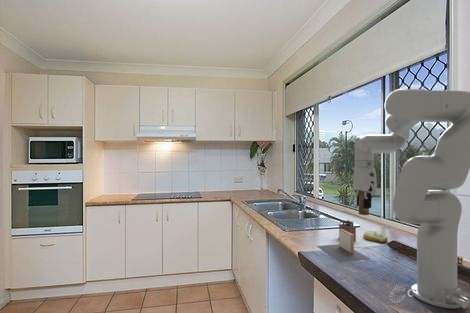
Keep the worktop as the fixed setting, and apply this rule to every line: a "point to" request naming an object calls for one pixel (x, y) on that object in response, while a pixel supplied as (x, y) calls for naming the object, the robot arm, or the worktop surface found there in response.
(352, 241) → the tile
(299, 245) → the worktop surface
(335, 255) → the mat
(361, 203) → the brown wooden block
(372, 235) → the decorated donut
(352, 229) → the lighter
